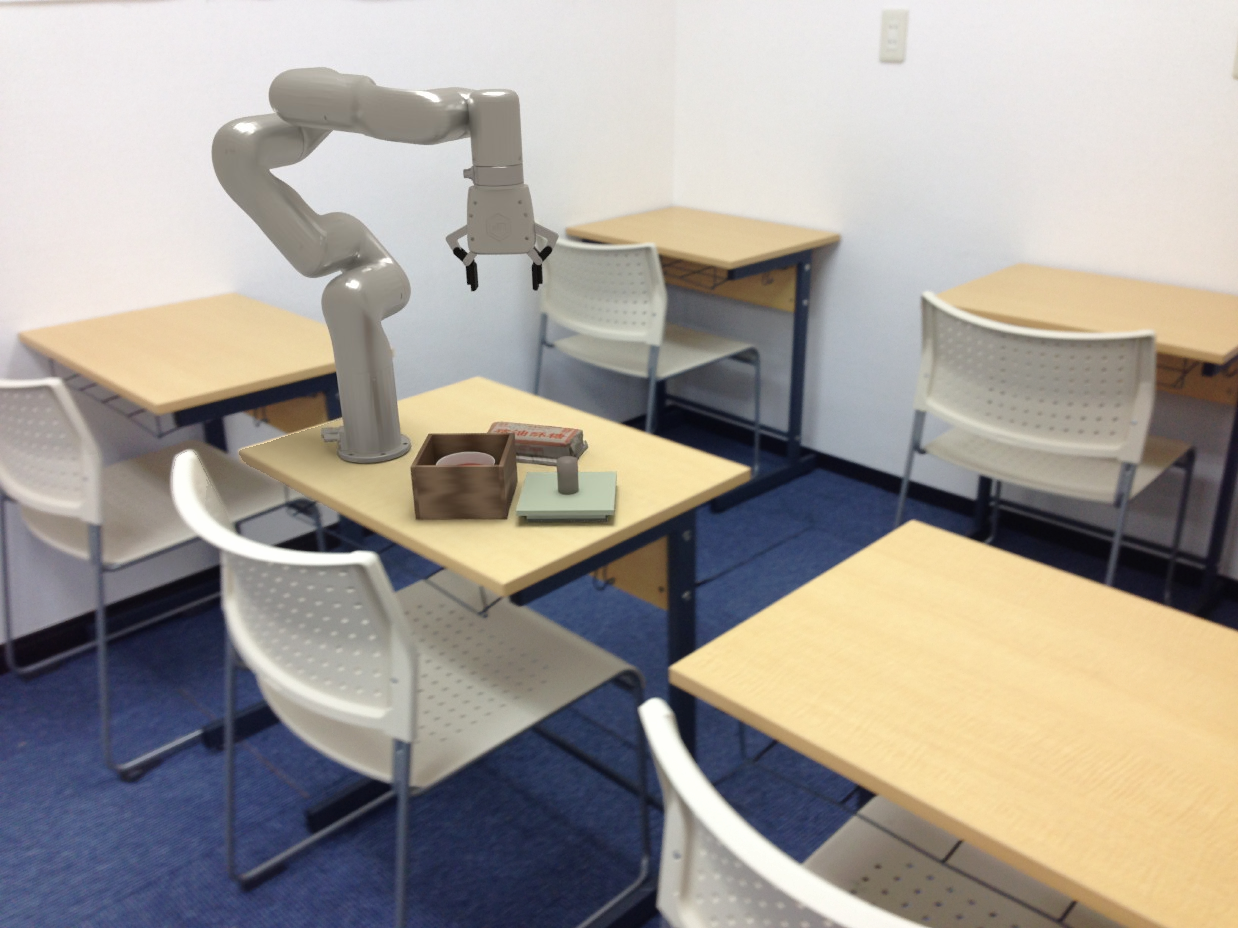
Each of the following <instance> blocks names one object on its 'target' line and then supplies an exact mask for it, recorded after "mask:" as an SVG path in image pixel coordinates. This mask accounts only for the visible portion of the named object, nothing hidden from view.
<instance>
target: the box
mask: <svg viewBox="0 0 1238 928" xmlns="http://www.w3.org/2000/svg"><path fill="white" fill-rule="evenodd" d="M461 452H480V453H485V454H488V455H490V456H492V457H493V458H494V459H495V465H436V463H437V462H438V461H439V460H440V459H441V458H443V457H445V456H448V455H451V454H455V453H461ZM409 469H410V477H411V478H410V479H411V487H412V496H413V498H412V499H413V507H414V517H415V520H492V519H493V520H495V519H496V520H499V519H501V520H507V519H508V516H509V513H510V509H511V508H512V507H511V506H512V503H513V499H514V496H515V493H516V489H517V486H518V482H519V481H518V480H519V479H518V462H517V461H516V446H515V433H487V432H468V433H467V432H456V433H455V432H453V433H450V432H449V433H448V432H447V433H443V432H442V433H436V432H434V433H428V434H427V436H426V437H425V439H424V441H423V443H422V445H421V447H420V449H419V450H418V452H417V454H416V456H415V457H414V459H413V461H412V463H411V465H410V467H409Z"/></svg>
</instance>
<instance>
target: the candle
mask: <svg viewBox="0 0 1238 928" xmlns="http://www.w3.org/2000/svg"><path fill="white" fill-rule="evenodd" d="M436 465H495V459H494V458H493V457H492V456H490V455H488V454H485V453H480V452H461V453H455V454H451V455H448V456H445V457H443V458H441V459H440V460H439V461H438V462H437V463H436Z"/></svg>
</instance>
